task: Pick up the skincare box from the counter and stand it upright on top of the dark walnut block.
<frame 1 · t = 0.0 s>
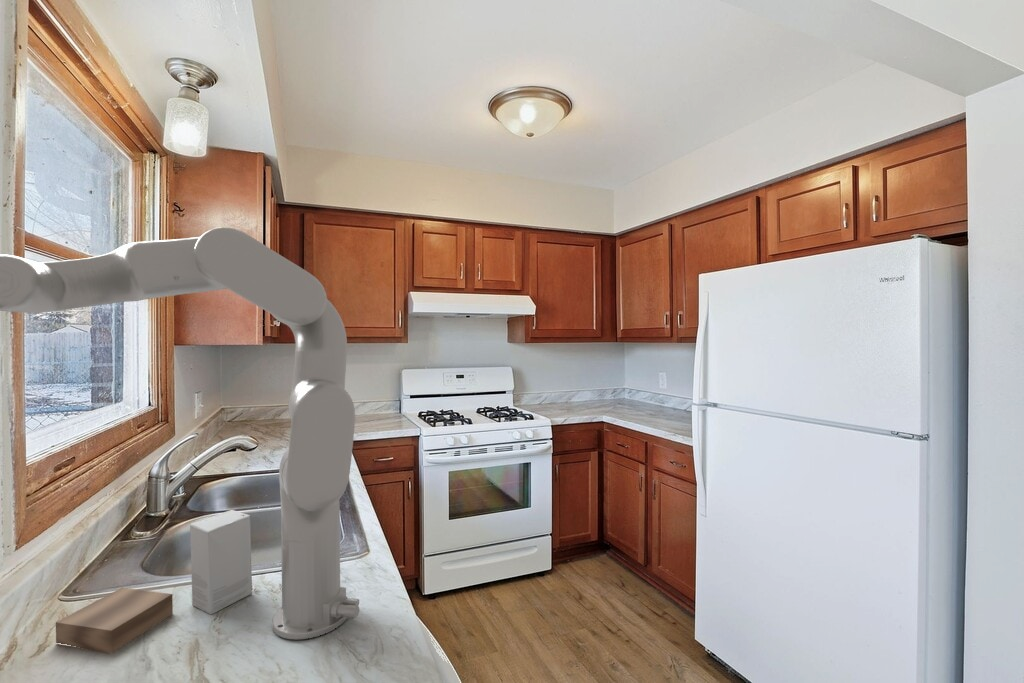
walnut block: (117, 630, 84), on the worktop
skincare box: (222, 601, 93), on the worktop
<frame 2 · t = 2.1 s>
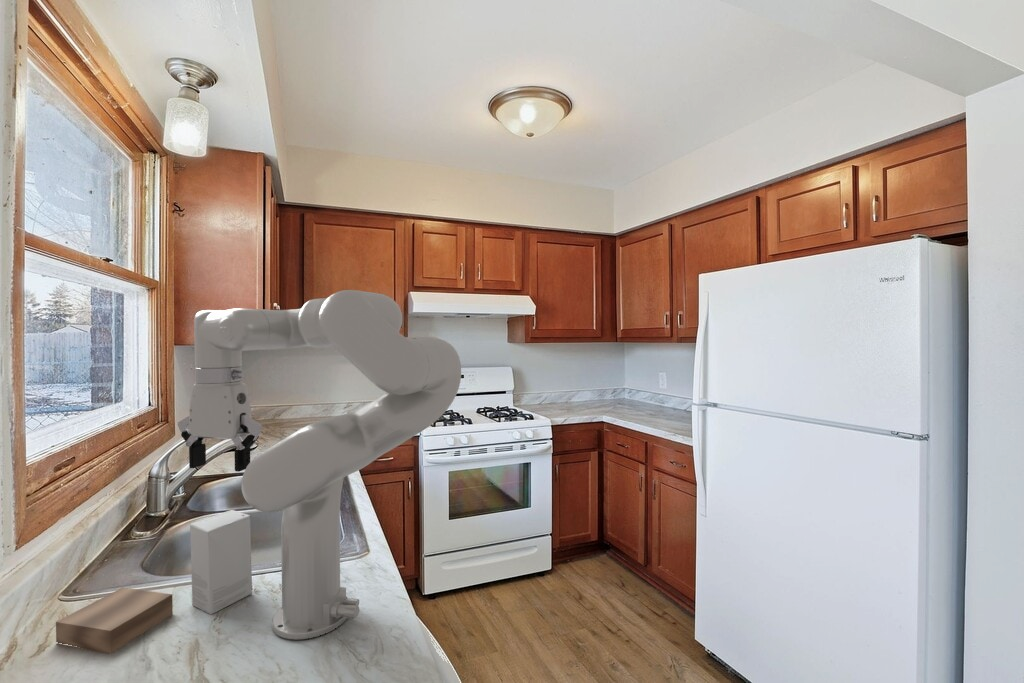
hand: (219, 467, 92), 25 cm above the worktop, tool pointing down, fingers open, 9 cm apart
nothing on the worktop moved.
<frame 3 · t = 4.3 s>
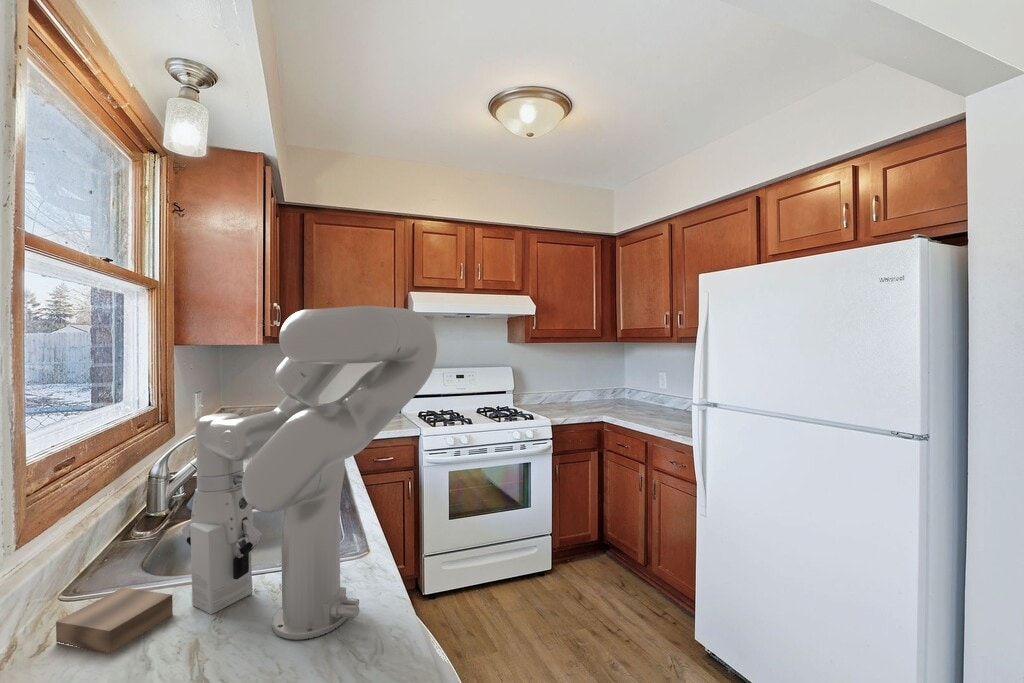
hand: (221, 573, 93), 5 cm above the worktop, tool pointing down, fingers closed on skincare box, 7 cm apart
skincare box: (222, 601, 93), on the worktop, touching gripper
everything else where it was.
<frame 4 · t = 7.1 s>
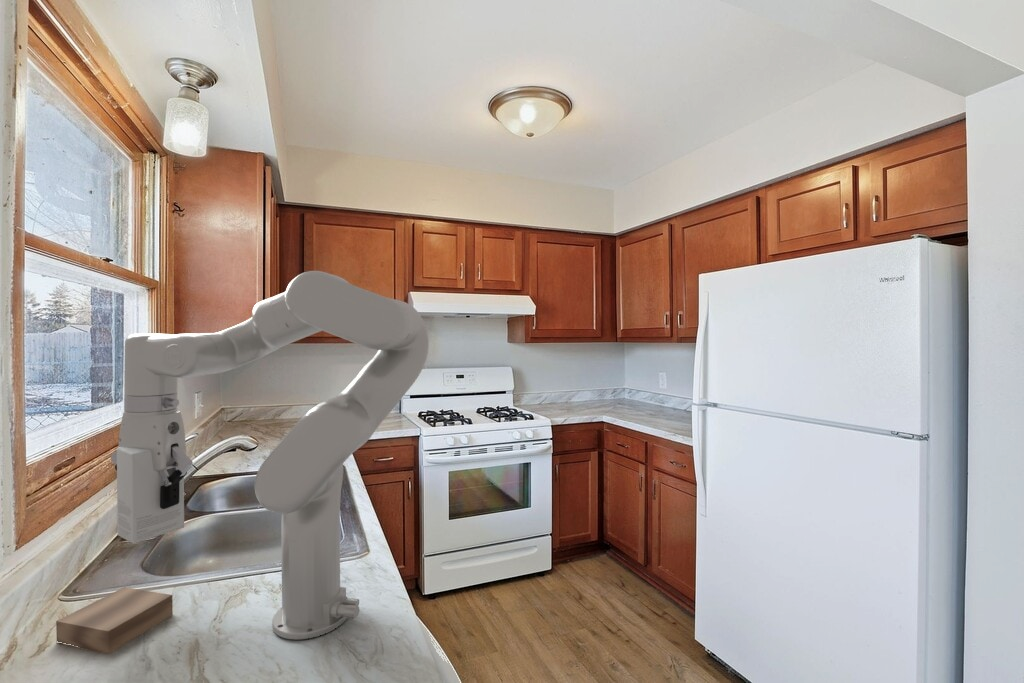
hand: (150, 503, 87), 20 cm above the worktop, tool pointing down, fingers closed on skincare box, 7 cm apart
skincare box: (151, 533, 87), point 15 cm above the worktop, touching gripper
everything else where it was.
when the fingers open (11 cm above the worktop, at t = 10.2 s): skincare box drops 2 cm, resting on walnut block.
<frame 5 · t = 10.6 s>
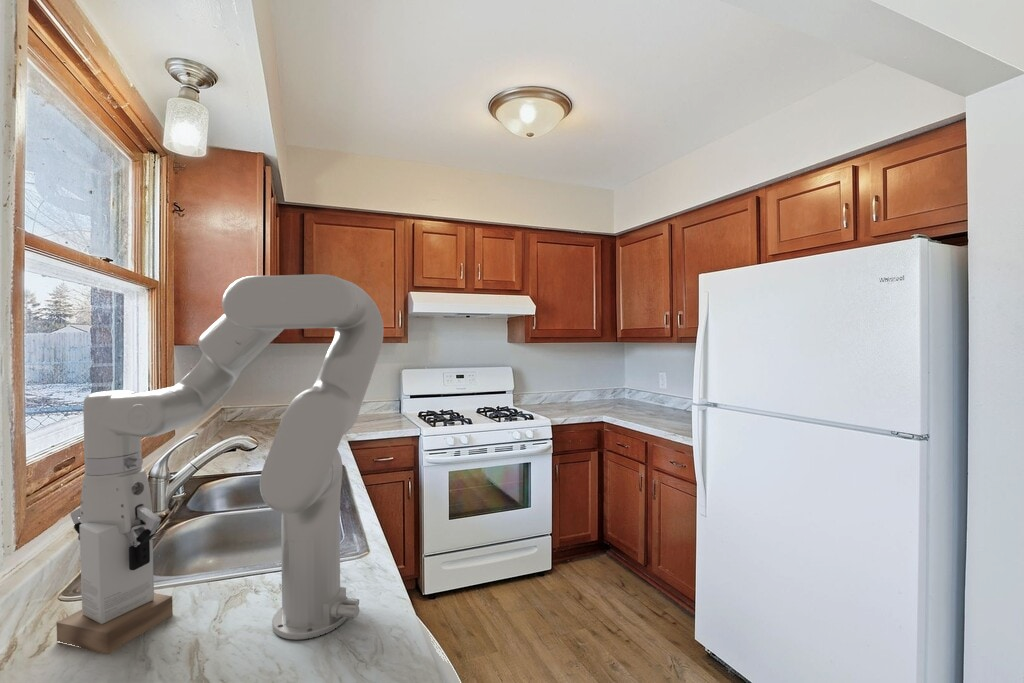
hand: (116, 563, 84), 11 cm above the worktop, tool pointing down, fingers open, 9 cm apart
walnut block: (117, 631, 84), on the worktop, touching skincare box
skincare box: (118, 609, 84), point 3 cm above the worktop, touching walnut block
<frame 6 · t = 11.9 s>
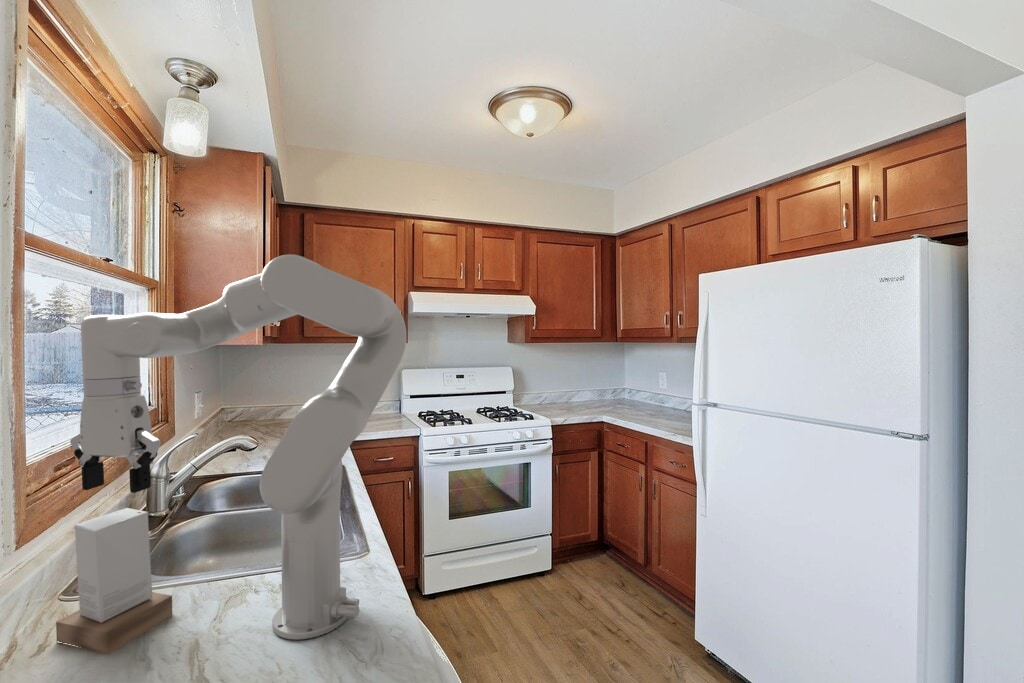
hand: (116, 488, 84), 24 cm above the worktop, tool pointing down, fingers open, 9 cm apart
nothing on the worktop moved.
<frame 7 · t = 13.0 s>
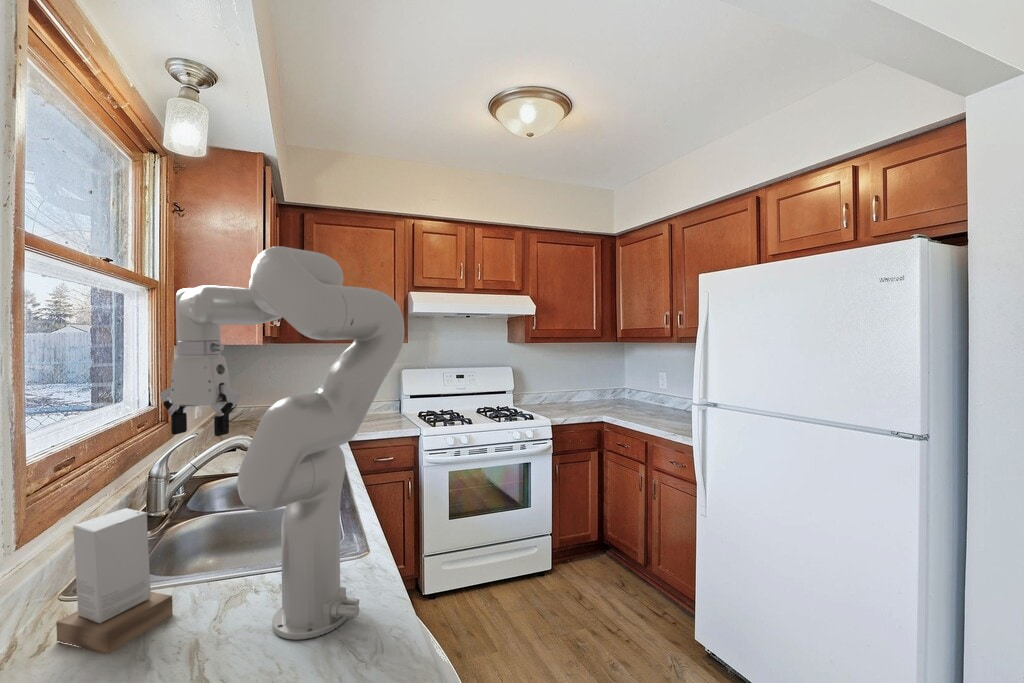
hand: (200, 434, 100), 30 cm above the worktop, tool pointing down, fingers open, 9 cm apart
walnut block: (117, 631, 84), on the worktop
skincare box: (115, 609, 84), point 3 cm above the worktop
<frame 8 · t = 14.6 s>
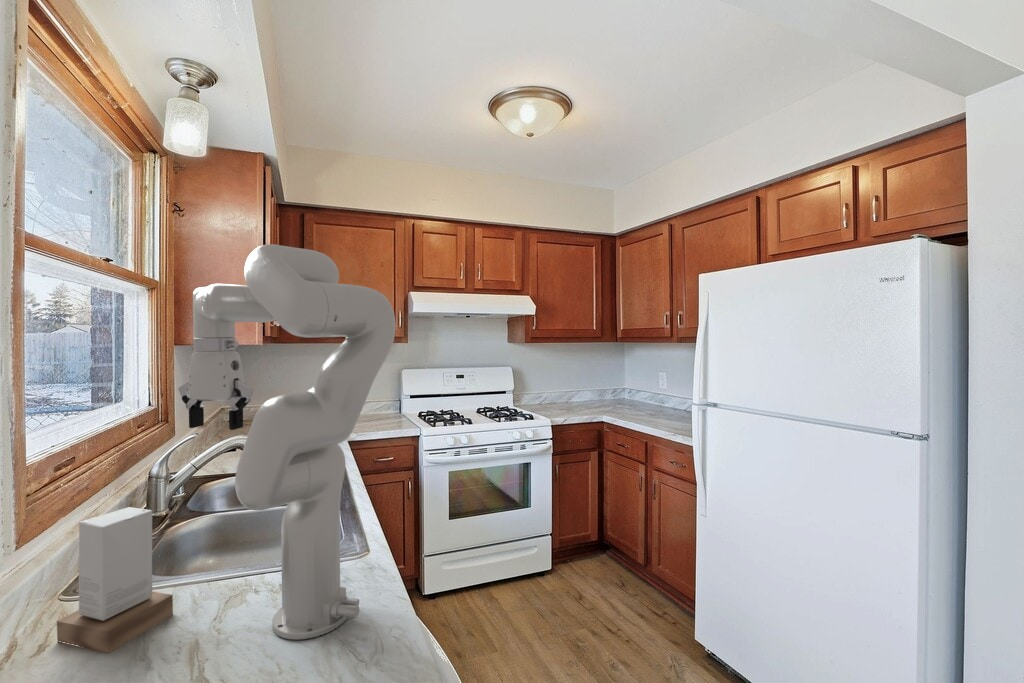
hand: (216, 427, 104), 30 cm above the worktop, tool pointing down, fingers open, 9 cm apart
walnut block: (117, 630, 84), on the worktop, touching skincare box
skincare box: (116, 608, 84), point 4 cm above the worktop, touching walnut block
at the end: skincare box inside the target area on the walnut block (0.2 cm from its centre), point 4.1 cm above the walnut block's base; skincare box tilted 3°; the gripper is holding nothing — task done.
